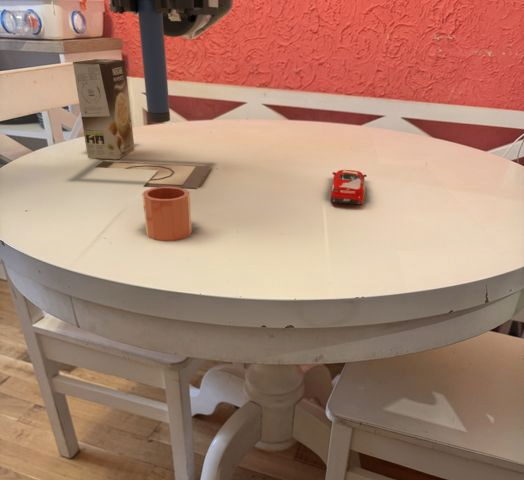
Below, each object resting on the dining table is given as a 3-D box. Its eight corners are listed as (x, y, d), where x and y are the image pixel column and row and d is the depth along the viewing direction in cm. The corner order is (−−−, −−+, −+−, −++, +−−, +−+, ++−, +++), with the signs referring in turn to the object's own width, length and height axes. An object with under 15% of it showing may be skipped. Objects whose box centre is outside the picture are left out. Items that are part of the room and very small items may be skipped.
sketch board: (74, 185, 81) (73, 180, 80) (103, 164, 92) (102, 159, 92) (196, 192, 80) (196, 187, 79) (210, 169, 91) (210, 164, 91)
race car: (332, 183, 86) (335, 159, 84) (364, 186, 85) (367, 161, 83) (326, 207, 75) (329, 180, 73) (362, 210, 75) (366, 183, 72)
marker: (145, 122, 60) (130, -25, 51) (151, 117, 62) (137, -24, 54) (167, 123, 59) (156, -24, 51) (172, 118, 62) (162, -23, 54)
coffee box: (119, 160, 95) (106, 63, 86) (86, 158, 96) (71, 61, 86) (135, 149, 102) (125, 59, 93) (105, 147, 103) (93, 57, 94)
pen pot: (142, 243, 62) (137, 199, 59) (153, 227, 67) (149, 185, 64) (186, 245, 62) (183, 201, 59) (195, 229, 66) (193, 187, 63)
